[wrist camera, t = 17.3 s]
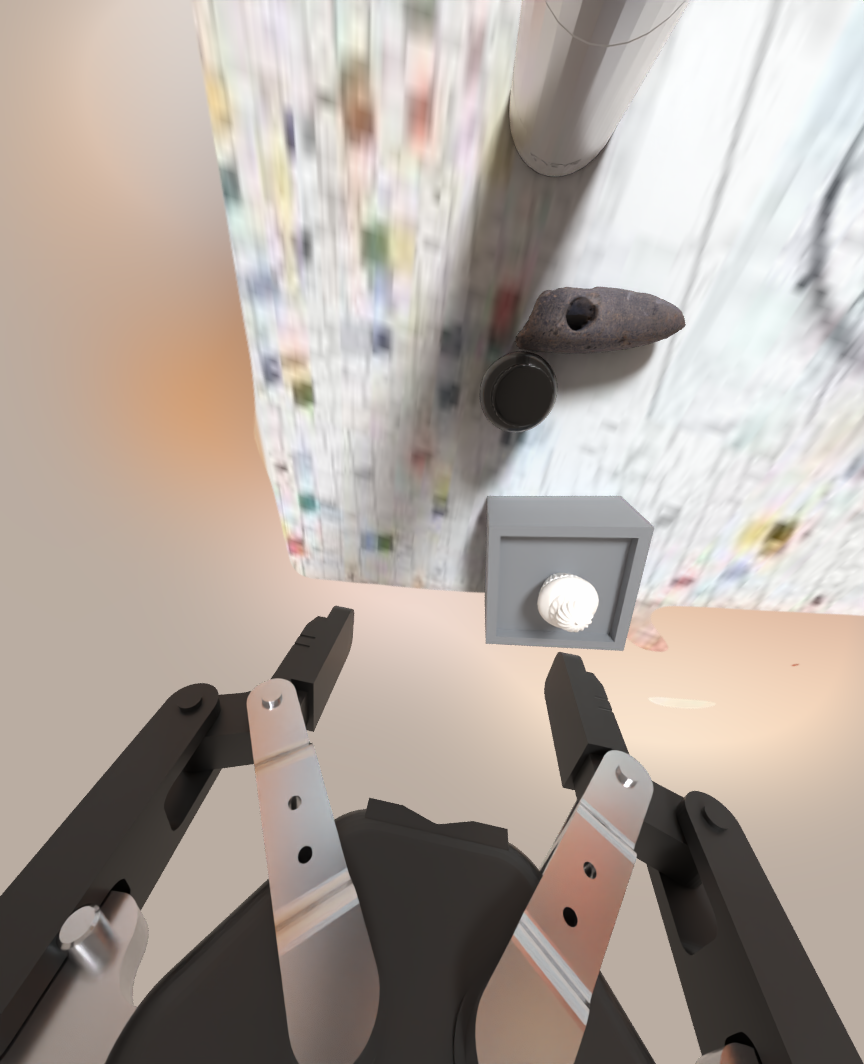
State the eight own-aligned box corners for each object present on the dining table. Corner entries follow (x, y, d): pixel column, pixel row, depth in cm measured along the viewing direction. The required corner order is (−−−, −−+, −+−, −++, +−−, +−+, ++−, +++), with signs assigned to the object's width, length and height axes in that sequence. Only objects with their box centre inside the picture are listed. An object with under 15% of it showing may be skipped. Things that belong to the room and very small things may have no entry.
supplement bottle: (554, 369, 37) (585, 371, 27) (524, 430, 40) (540, 453, 30) (496, 343, 37) (503, 334, 26) (469, 406, 40) (466, 421, 29)
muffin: (524, 570, 39) (538, 608, 33) (579, 553, 38) (605, 590, 32) (538, 612, 41) (554, 656, 35) (591, 598, 40) (617, 640, 34)
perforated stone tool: (676, 297, 34) (720, 282, 27) (658, 358, 36) (695, 357, 30) (518, 292, 35) (526, 276, 29) (510, 351, 37) (516, 349, 31)
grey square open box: (487, 495, 45) (489, 525, 36) (619, 495, 43) (654, 527, 34) (484, 597, 52) (485, 643, 43) (598, 602, 49) (623, 650, 41)
